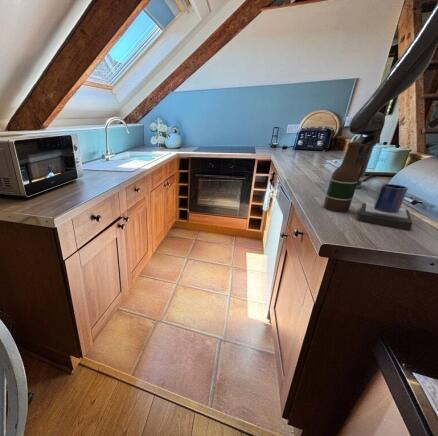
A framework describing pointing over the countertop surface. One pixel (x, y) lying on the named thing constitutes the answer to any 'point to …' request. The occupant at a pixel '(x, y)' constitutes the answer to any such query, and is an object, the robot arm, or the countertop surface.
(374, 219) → the kitchen scale
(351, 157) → the beer bottle
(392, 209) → the blue pot
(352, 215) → the countertop surface
